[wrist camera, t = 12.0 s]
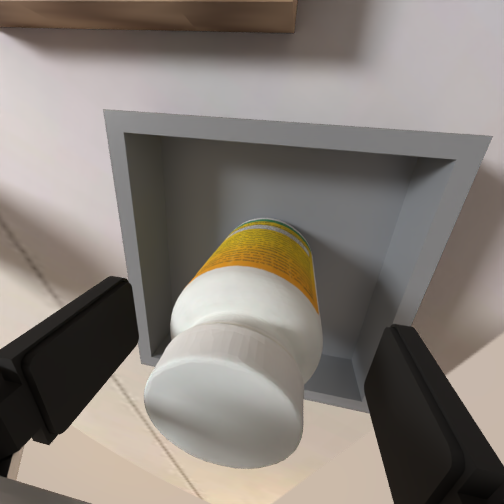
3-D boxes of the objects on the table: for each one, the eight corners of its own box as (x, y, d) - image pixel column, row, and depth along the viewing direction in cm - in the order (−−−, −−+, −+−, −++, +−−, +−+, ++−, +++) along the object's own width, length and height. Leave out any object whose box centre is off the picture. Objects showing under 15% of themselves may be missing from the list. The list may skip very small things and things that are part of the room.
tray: (436, 139, 11) (492, 135, 8) (358, 363, 17) (372, 414, 14) (151, 119, 13) (103, 109, 10) (168, 326, 19) (141, 363, 16)
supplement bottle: (317, 293, 15) (343, 498, 6) (234, 299, 16) (159, 477, 7) (306, 207, 13) (324, 330, 4) (213, 222, 14) (80, 339, 6)
